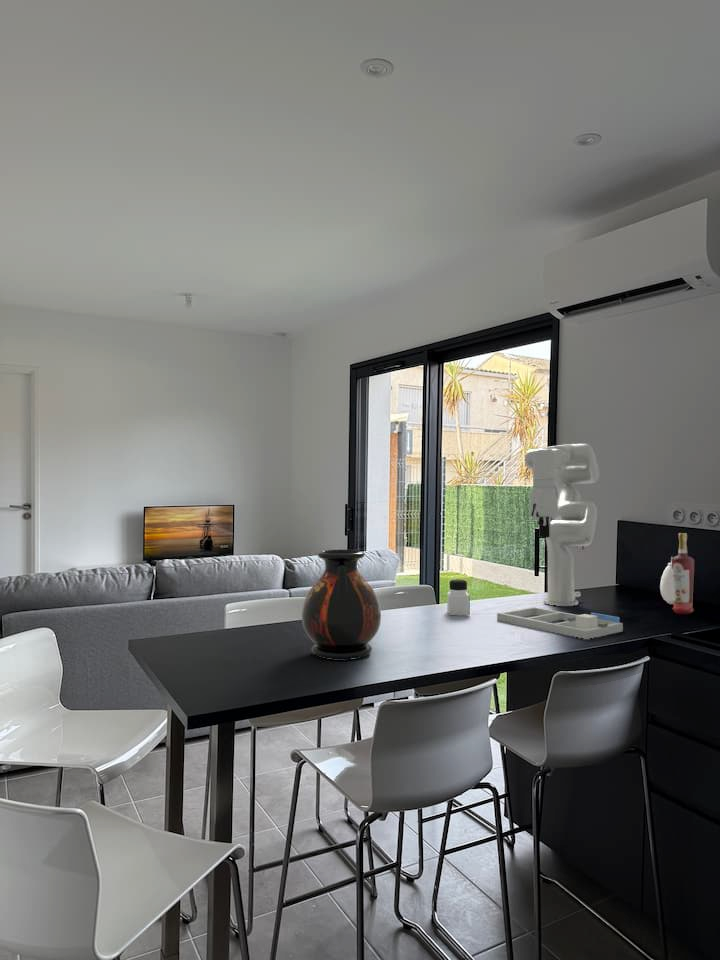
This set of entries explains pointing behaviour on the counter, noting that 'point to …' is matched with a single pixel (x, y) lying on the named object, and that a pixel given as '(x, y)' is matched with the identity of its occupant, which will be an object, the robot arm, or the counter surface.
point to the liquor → (683, 578)
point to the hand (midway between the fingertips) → (544, 537)
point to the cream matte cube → (586, 621)
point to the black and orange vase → (341, 608)
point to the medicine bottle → (458, 598)
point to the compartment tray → (568, 627)
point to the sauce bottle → (667, 584)
